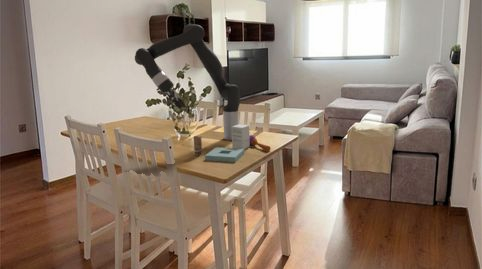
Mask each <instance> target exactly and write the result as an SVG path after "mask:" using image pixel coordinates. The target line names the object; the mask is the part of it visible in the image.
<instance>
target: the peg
mask: <svg viewBox="0 0 482 269" xmlns="http://www.w3.org/2000/svg"><path fill="white" fill-rule="evenodd" d="M202 145H203V144H202V136H201V135H195V136H193V148H194V150H193V151H194V154H195V155H196V156H197V157H201V156H202V152H203V146H202ZM200 155H201V156H200ZM196 156H195V157H196Z"/></svg>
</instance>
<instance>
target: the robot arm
mask: <svg viewBox="0 0 482 269" xmlns="http://www.w3.org/2000/svg"><path fill="white" fill-rule="evenodd" d="M182 31H183V32H182V33H180V34H179V35H174V36H172V37H171V36H170V37H167V38H165V39H162V40H159V41H157V42H154V43H152V44H151V45H150V46H149V47H148V48H144V47H143V48H142V47H141V48H138V49H137V50H136V51H135V55H134V62H135V63H136V64H137V65H139V66H142V67H143V68H144V69H145V72H146V74H147V75H148V76H149V78H150V79H151V81H152V82H153V84H154V85H155V86H156V87H157V89H158V90H159V91H160V92H161V94H166V96H167V97H168V98H169V99H170V101H171V102H172V103H174V104H175V105H176V107H177V108H178V109H181V108H184V107H185V106H186V104H185V102H184V101H183V100H182V97H181V96H180V95H179V93H178V92H177V91H176V89H173V87H174V86H175V85H174V83H173V82H172V80H171V79H170V78H169V77H168V75H167V74H166V73H165V72H164V71H163V70H162V69H161V67H160V66H159V65H158V64H157V62H156V60H155V59H157V58H160V57H161V56H164V55H166V54H168V53H171V52H172V51H175V50H177V49H179V48H182V47H184V46H187V45H190V47H192V48H193V50H194V52H195V53H196V55H197V57H198V58H199V60H200V62H201V64H202V66H203V67H204V69H205V70H206V72H207V73H208V75H209V76H210V78H211V80H212V82H213V83H214V84H215V87H216V89H217V91H218V93H219V95H220V96H221V98H223V99H224V100H227V102H226V103H227V104H226V105H224V106H223V107H222V112H223V113H222V118H223V138H224V139H223V140H227V141H232V126H235V125H238V124H240V121H239V120H240V119H239V108H240V98H241V96H240V95H241V94H240V88H239V86H238V85H236V84H229V83H228V82H227V80H226V79H225V77H224V74H223V65H222V63H221V61H220V59H219V57H218V56H217V55H216V53H215V52H214V51H213V50H212V49H211V48H210V46H208V45H207V43H206V42H205V41H204V38H205V35H206V34H205V33H206V32H205V30H204V28H203V26H201V25H199V24H194V23H188V24H186V25H184V27H183V30H182Z"/></svg>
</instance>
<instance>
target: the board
mask: <svg viewBox="0 0 482 269" xmlns="http://www.w3.org/2000/svg"><path fill="white" fill-rule="evenodd" d="M243 155H245V149H236V148H232V147H214V148H213V149H211V150H210V151H209V152H208V153H207V154H205V155H204V160H205V161H211V162H212V161H213V162H228V163H237V162H238V160H240V159H241V157H243Z"/></svg>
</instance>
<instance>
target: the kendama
mask: <svg viewBox="0 0 482 269" xmlns="http://www.w3.org/2000/svg"><path fill="white" fill-rule="evenodd" d="M251 146H253V147H254V146H258V147H260V149H262V150H263V151H265V152H267V153H268V152H270V151H271V146H270V145H265V144H264V143H263V144H262V143H260V142H258V140H257V138H256V137H255V135H250V147H251Z"/></svg>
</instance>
